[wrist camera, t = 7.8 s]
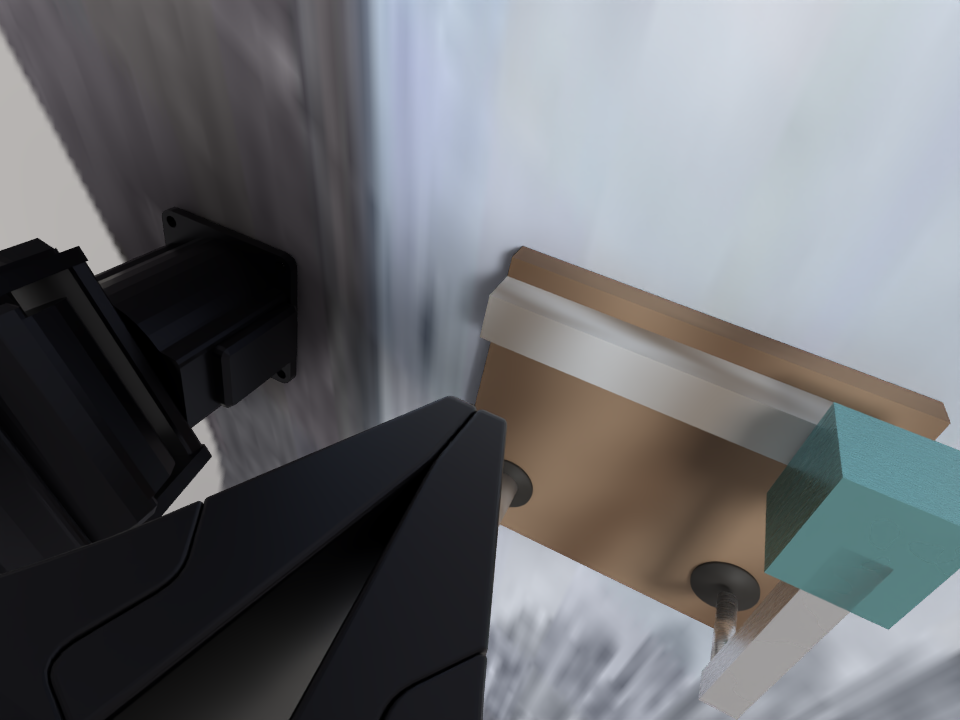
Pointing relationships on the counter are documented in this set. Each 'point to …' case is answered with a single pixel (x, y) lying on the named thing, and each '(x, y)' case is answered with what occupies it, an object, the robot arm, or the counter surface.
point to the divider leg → (839, 548)
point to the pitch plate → (655, 430)
